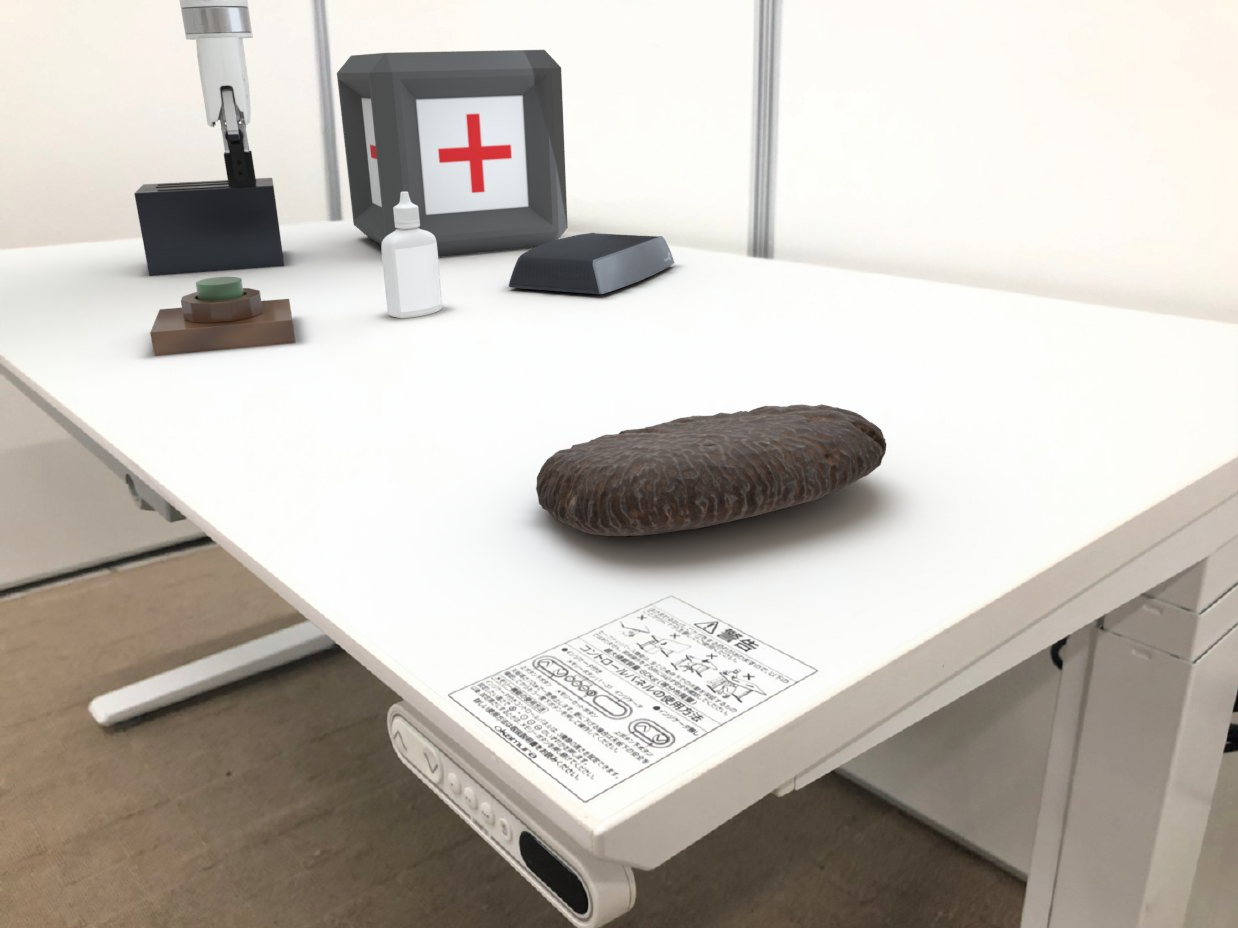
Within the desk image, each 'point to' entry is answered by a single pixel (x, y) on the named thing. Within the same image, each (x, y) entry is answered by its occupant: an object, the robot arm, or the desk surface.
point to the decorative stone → (708, 469)
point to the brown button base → (222, 324)
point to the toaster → (208, 226)
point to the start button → (219, 288)
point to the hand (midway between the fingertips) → (242, 184)
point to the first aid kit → (457, 146)
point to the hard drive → (591, 263)
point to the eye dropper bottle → (410, 265)
